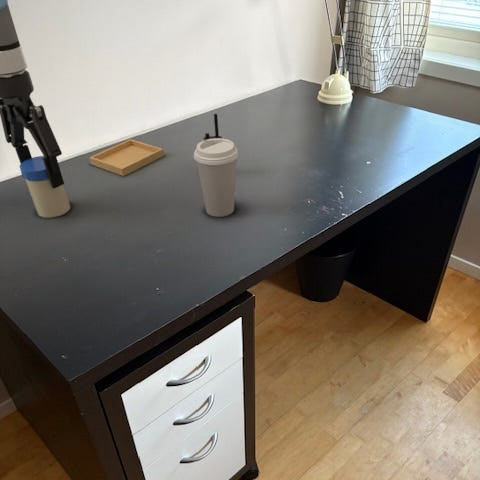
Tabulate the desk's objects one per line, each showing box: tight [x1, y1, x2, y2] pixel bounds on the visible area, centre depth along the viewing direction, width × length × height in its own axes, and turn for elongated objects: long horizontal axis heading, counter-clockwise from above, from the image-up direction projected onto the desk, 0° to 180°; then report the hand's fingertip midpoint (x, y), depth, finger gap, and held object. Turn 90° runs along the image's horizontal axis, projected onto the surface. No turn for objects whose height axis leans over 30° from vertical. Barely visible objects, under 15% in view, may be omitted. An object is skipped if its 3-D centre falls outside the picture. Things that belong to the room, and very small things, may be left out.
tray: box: [89, 138, 165, 177], centre depth 131 cm, size 13×15×2 cm
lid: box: [19, 155, 61, 181], centre depth 106 cm, size 8×8×2 cm
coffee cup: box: [193, 138, 239, 218], centre depth 105 cm, size 10×10×15 cm
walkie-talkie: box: [202, 113, 223, 141], centre depth 119 cm, size 5×3×15 cm
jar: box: [24, 179, 71, 219], centre depth 109 cm, size 8×8×11 cm
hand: (44, 180), depth 108 cm, fingers open, 10 cm apart
